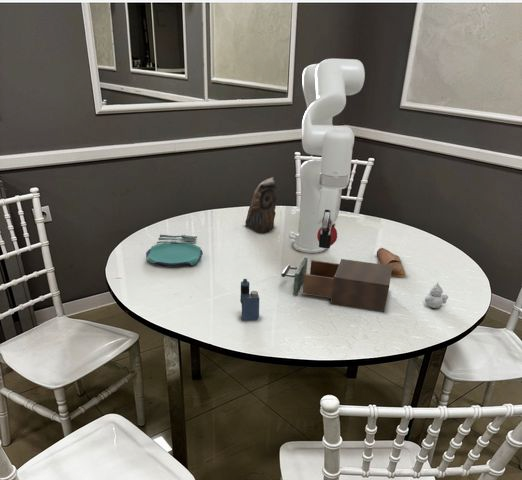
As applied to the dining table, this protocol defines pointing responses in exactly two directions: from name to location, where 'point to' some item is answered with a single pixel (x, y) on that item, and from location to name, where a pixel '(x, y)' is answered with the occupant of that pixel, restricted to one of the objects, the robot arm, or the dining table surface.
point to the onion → (333, 234)
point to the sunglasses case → (391, 262)
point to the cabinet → (361, 285)
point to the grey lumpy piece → (436, 297)
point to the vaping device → (249, 302)
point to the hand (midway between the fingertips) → (326, 243)
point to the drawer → (313, 278)
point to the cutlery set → (175, 251)
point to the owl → (262, 207)
